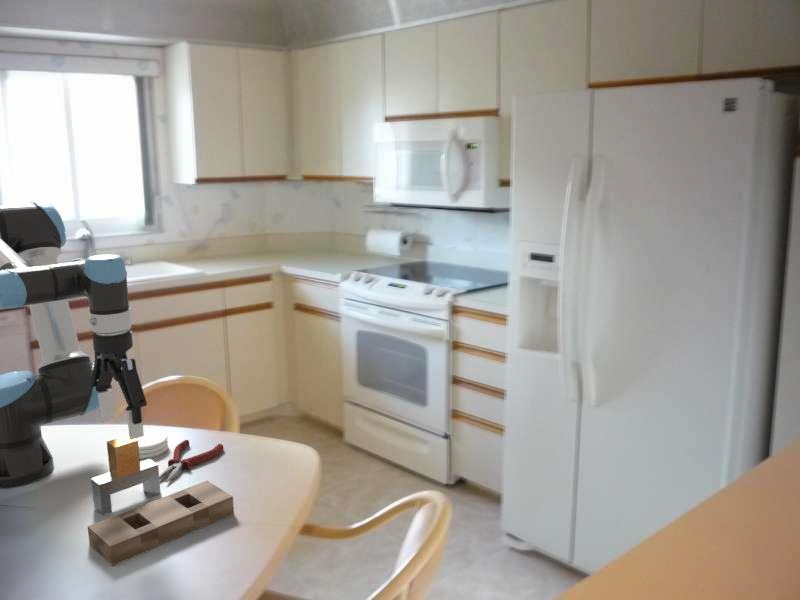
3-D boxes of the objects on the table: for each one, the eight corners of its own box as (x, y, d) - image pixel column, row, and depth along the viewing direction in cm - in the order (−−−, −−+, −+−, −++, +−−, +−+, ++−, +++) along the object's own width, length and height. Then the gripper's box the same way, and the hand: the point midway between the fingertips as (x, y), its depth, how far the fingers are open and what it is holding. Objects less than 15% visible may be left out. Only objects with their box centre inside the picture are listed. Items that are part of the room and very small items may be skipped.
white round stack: (175, 451, 182) (174, 438, 181) (136, 463, 175) (135, 450, 174) (157, 439, 189) (156, 426, 188) (119, 450, 182) (118, 437, 181)
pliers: (138, 483, 166) (137, 472, 165) (184, 447, 185) (184, 437, 184) (184, 489, 163) (183, 479, 163) (225, 452, 182) (225, 442, 182)
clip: (94, 508, 154) (87, 447, 151) (151, 487, 163) (146, 429, 160) (102, 515, 151) (96, 453, 148) (160, 493, 160) (155, 434, 157)
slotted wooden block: (89, 544, 141) (87, 526, 140) (208, 497, 159) (207, 480, 158) (112, 566, 134) (110, 546, 133) (233, 513, 152) (232, 496, 151)
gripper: (68, 324, 154) (79, 417, 159) (121, 346, 137) (131, 451, 142) (103, 317, 159) (112, 408, 164) (158, 338, 142) (167, 439, 147)
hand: (121, 428), depth 153 cm, fingers open, 13 cm apart
